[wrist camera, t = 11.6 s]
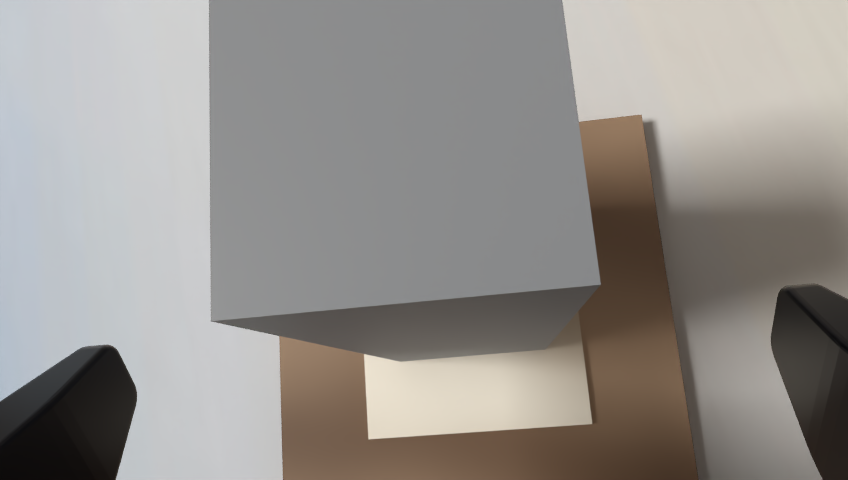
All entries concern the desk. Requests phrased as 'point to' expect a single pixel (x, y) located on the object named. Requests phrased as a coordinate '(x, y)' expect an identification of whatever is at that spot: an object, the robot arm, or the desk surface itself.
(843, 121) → the desk surface
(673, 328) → the board
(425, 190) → the leg
